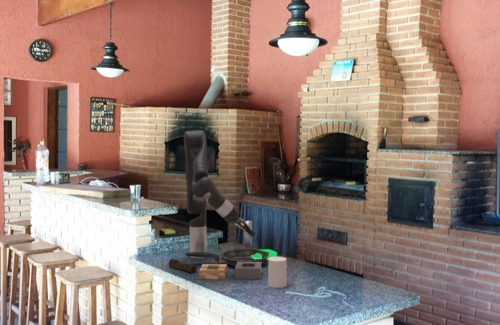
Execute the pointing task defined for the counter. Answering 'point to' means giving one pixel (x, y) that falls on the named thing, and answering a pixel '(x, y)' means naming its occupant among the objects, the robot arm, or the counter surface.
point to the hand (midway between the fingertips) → (251, 234)
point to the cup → (277, 272)
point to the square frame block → (213, 271)
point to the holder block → (248, 270)
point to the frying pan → (233, 256)
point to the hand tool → (182, 266)
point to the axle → (246, 236)
